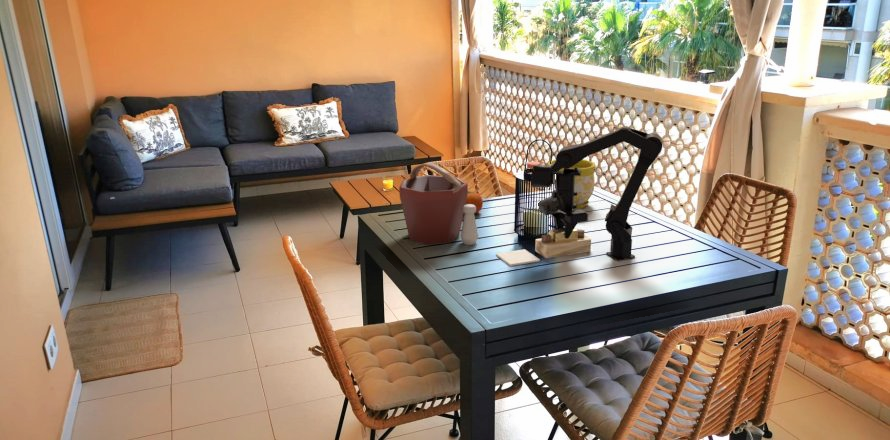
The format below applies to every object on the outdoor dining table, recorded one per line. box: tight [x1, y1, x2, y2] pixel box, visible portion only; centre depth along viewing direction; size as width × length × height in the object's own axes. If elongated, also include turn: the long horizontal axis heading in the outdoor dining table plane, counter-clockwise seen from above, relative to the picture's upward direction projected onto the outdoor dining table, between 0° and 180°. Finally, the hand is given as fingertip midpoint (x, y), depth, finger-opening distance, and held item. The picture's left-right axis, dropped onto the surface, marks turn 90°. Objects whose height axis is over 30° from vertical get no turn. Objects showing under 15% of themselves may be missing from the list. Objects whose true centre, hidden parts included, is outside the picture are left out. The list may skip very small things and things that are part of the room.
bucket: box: [398, 162, 469, 246], centre depth 232 cm, size 24×22×25 cm
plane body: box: [534, 228, 592, 259], centre depth 219 cm, size 7×16×6 cm, turn 111°
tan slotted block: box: [548, 227, 578, 243], centre depth 218 cm, size 4×8×4 cm, turn 111°
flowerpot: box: [547, 159, 597, 210], centre depth 267 cm, size 18×18×16 cm
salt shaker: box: [460, 204, 479, 246], centre depth 227 cm, size 6×6×13 cm
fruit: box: [463, 190, 484, 215], centre depth 260 cm, size 11×10×8 cm
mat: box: [495, 248, 541, 267], centre depth 215 cm, size 10×10×1 cm
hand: (563, 236), depth 219 cm, fingers closed on tan slotted block, 4 cm apart
